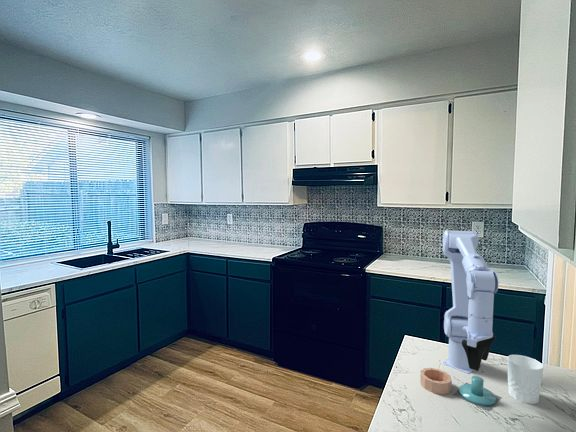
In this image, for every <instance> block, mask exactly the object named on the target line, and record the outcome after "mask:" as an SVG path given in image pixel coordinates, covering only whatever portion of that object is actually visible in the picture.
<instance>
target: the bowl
mask: <svg viewBox="0 0 576 432" xmlns="http://www.w3.org/2000/svg"><path fill="white" fill-rule="evenodd" d="M419 378H420V379H419V381H420V383H419V384H420V386H421V387H422V388H424V390H426V391H428V392H429V393H433V394H438V395H445V394H449V393H451V391H452V386H453V385H452V383H453V382H452V381H453V380H452V375H450V374H449V373H448V372H447V371H444V370H442V369H439V368H436V367H435V368H434V367H425V368H423V369H421V370H420V376H419Z"/></svg>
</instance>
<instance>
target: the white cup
mask: <svg viewBox="0 0 576 432" xmlns="http://www.w3.org/2000/svg"><path fill="white" fill-rule="evenodd" d="M506 361H507V362H506V363H507V385H508V387H507V388H508V391H507V392H508V394H509V396H510V397H512V398H514V399H515V400H516V401H518V402H522V403H524V404H525V403H526V404H528V405H529V404H530V405H533V404H538V403H539V402H540V395H541V390H542V389H541V388H542V382H543V376H544V375H543V373H544V365H543V363H541V362H540V361H538V360H536V359H535V358H532V357H529V356H526V355H521V354H510V355H508V356H507V359H506Z"/></svg>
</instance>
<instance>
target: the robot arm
mask: <svg viewBox="0 0 576 432" xmlns="http://www.w3.org/2000/svg"><path fill="white" fill-rule="evenodd" d="M478 246H479V234H478V232H477V231H475V230H448V229H445V230H444V232H443V234H442V252H443V255H444V256H445V257H447V258H448V261H449V265H450V277H451V292H452V293H451V294H452V307H451V308H449V309H448V310H446V311H445V312H444V315H443V317H444V318H443V319H444V320H443V330H444V334H445V335H446V337H448V354H447V355H448V356H447V359H446V360H444V361H443V362H442V364H443V365H444V366H448V367H450V368H452V369H455V370H457V371H460V372H462V373H465V374H468V375H469V374H470V373H472V372H473V371H476V372H479V371H480V368H481V364H482V361H487V360H488V357H489V355H490V350H491V348H492V345H493V342H494V341H495V339H496V338H497V335H496V334H494V332H493V323H494V321H493V320H494V300H495V299H494V298H495V294H496V293H497V292H498V290H499V276H498V274H497V272H496V271H495V270H493V269H490V268H489V267H488V265H487V263H486V261H485V259H484V257H483V256H482V255H481V254H479V253H478V252H477V248H478Z"/></svg>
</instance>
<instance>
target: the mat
mask: <svg viewBox="0 0 576 432" xmlns="http://www.w3.org/2000/svg"><path fill="white" fill-rule="evenodd" d="M464 384H470V383H468V382H465V383H464ZM493 394H494V395H495V397H496V402H495V404H494V405H491V406H481V405H477V404H474V403H471V402H469V401H467V400H466V399H464V398H463V397H462V396H461V395H460V393H459V388H458V389H457V390H456V391H454V393H452V396H455V397H457V398H458V399H461V400H463V401H465V402H468V403H470V404H472V405H474V406H476V407H479V408H480V409H483V410H484V411H487V412H490V411H491V410H492V409H493V408H494V407H495V406H496V404H497V403H498V402H499V401H500V400H501V399H502V397H501V396H499V395H498V394H497V395H496V394H495V393H493Z"/></svg>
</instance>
